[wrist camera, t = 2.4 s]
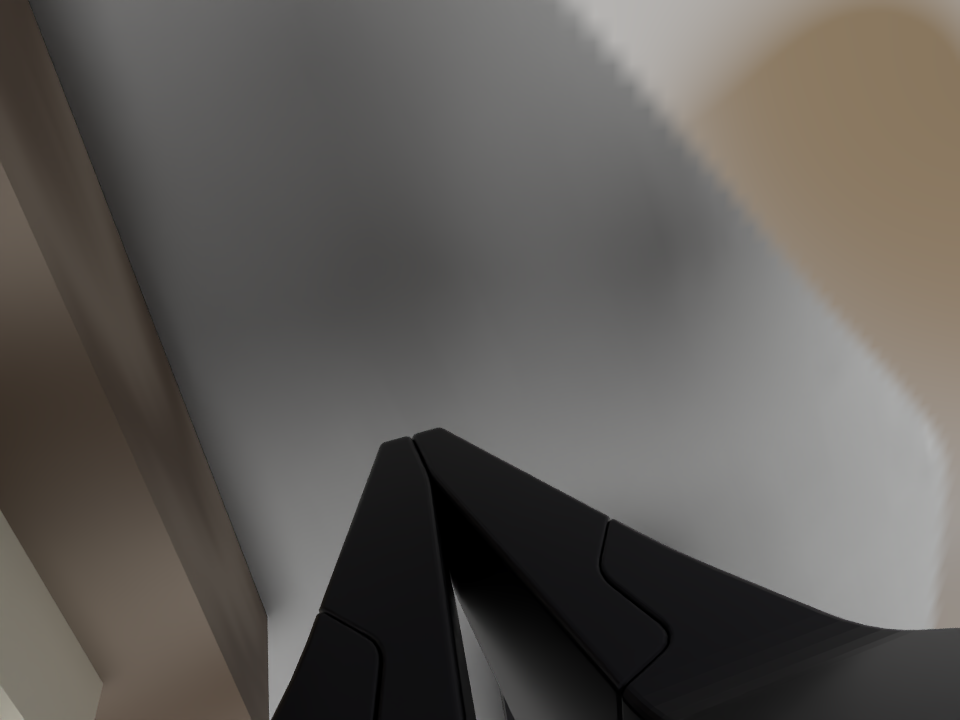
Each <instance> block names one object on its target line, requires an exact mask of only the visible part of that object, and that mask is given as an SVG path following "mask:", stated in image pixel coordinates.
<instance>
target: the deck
mask: <svg viewBox="0 0 960 720" xmlns="http://www.w3.org/2000/svg"><path fill="white" fill-rule="evenodd" d="M0 510H1V512H2V513H3V515H4V517H5V518H6V520H7V522H8V524H9V525H10V527H11V529H12V530H13V532H14V534H15V535H16V537H17V539H18V540H19V542H20V544H21V546H22V547H23V549H24V551H25V552H26V554H27V556H28V557H29V559H30V561H31V562H32V564H33V566H34V568H35V569H36V571H37V573H38V574H39V576H40V578H41V579H42V581H43V583H44V584H45V586H46V588H47V590H48V591H49V593H50V595H51V596H52V598H53V600H54V601H55V603H56V605H57V606H58V608H59V610H60V611H61V613H62V615H63V617H64V618H65V620H66V622H67V623H68V625H69V627H70V628H71V630H72V632H73V633H74V635H75V637H76V639H77V640H78V642H79V644H80V645H81V647H82V649H83V650H84V652H85V654H86V655H87V657H88V659H89V661H90V662H91V664H92V666H93V667H94V669H95V671H96V672H97V674H98V676H99V677H100V679H101V681H102V683H103V687H102V691H101V695H100V699H99V703H98V708H97V712H96V716H95V720H269V688H268V631H267V615H266V613H265V610H264V607H263V605H262V602H261V600H260V597H259V595H258V592H257V589H256V587H255V584H254V582H253V579H252V577H251V574H250V571H249V569H248V566H247V564H246V561H245V559H244V556H243V553H242V551H241V548H240V546H239V543H238V540H237V538H236V535H235V533H234V530H233V528H232V525H231V522H230V520H229V517H228V515H227V512H226V510H225V507H224V504H223V502H222V499H221V497H220V494H219V491H218V489H217V486H216V484H215V481H214V479H213V476H212V473H211V471H210V468H209V466H208V463H207V461H206V458H205V455H204V453H203V450H202V448H201V445H200V442H199V440H198V437H197V435H196V432H195V430H194V427H193V424H192V422H191V419H190V417H189V414H188V412H187V409H186V406H185V404H184V401H183V399H182V396H181V393H180V391H179V388H178V386H177V383H176V381H175V378H174V375H173V373H172V370H171V368H170V365H169V363H168V360H167V357H166V355H165V352H164V350H163V347H162V344H161V342H160V339H159V337H158V334H157V332H156V329H155V326H154V324H153V321H152V319H151V316H150V314H149V311H148V308H147V306H146V303H145V301H144V298H143V295H142V293H141V290H140V288H139V285H138V283H137V280H136V277H135V275H134V272H133V270H132V267H131V265H130V262H129V259H128V257H127V254H126V252H125V249H124V246H123V244H122V241H121V239H120V236H119V234H118V231H117V228H116V226H115V223H114V221H113V218H112V216H111V213H110V210H109V208H108V205H107V203H106V200H105V197H104V195H103V192H102V190H101V187H100V185H99V182H98V179H97V177H96V174H95V172H94V169H93V167H92V164H91V161H90V159H89V156H88V154H87V151H86V148H85V146H84V143H83V141H82V138H81V136H80V133H79V130H78V128H77V125H76V123H75V120H74V118H73V115H72V112H71V110H70V107H69V105H68V102H67V99H66V97H65V94H64V92H63V89H62V87H61V84H60V81H59V79H58V76H57V74H56V71H55V69H54V66H53V63H52V61H51V58H50V56H49V53H48V50H47V48H46V45H45V43H44V40H43V38H42V35H41V32H40V30H39V27H38V25H37V22H36V20H35V17H34V14H33V12H32V9H31V7H30V4H29V1H28V0H0Z"/></svg>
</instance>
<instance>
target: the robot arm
mask: <svg viewBox="0 0 960 720" xmlns="http://www.w3.org/2000/svg"><path fill="white" fill-rule="evenodd" d="M452 585H453V587H452ZM453 588H454V590H455V593H456V595H457V597H458V600H459V602H460V604H461V607H462V609H463V611H464V613H465V615H466V617H467V619H468V621H469V624H470V626H471V628H472V630H473V632H474V634H475V636H476V638H477V641H478V643H479V645H480V647H481V649H482V651H483V653H484V655H485V657H486V660H487V662H488V664H489V666H490V668H491V670H492V672H493V674H494V677H495V679H496V681H497V683H498V685H499V687H500V692H501V698H502V704H503V710H504V716H505V720H960V628H947V629H928V630H896V629H884V628H878V627H873V626H867V625H863V624H859V623H856V622H852V621H848V620H845V619H842V618H839V617H836V616H834V615H831V614H828V613H825V612H823V611H820V610H818V609H816V608H813V607H811V606H808V605H806V604H803V603H801V602H798V601H796V600H793V599H791V598H789V597H786V596H784V595H781V594H779V593H776V592H774V591H771V590H769V589H767V588H764V587H762V586H759V585H757V584H754V583H752V582H749V581H747V580H745V579H742V578H740V577H737V576H735V575H732V574H730V573H727V572H725V571H723V570H720V569H718V568H715V567H713V566H711V565H708V564H706V563H704V562H701V561H699V560H697V559H695V558H692V557H690V556H688V555H685V554H683V553H681V552H678V551H676V550H674V549H672V548H670V547H668V546H666V545H664V544H662V543H660V542H658V541H656V540H654V539H652V538H650V537H647V536H645V535H643V534H641V533H639V532H637V531H635V530H634V529H632V528H630V527H628V526H626V525H624V524H622V523H620V522H618V521H617V520H615V519H611V520H610V518H609V517H608V516H607V515H605V514H603V513H601V512H599V511H597V510H595V509H594V508H592V507H590V506H588V505H586V504H584V503H582V502H580V501H578V500H577V499H575V498H573V497H571V496H569V495H567V494H565V493H563V492H562V491H560V490H558V489H556V488H554V487H552V486H550V485H548V484H546V483H545V482H543V481H541V480H539V479H537V478H535V477H533V476H531V475H530V474H528V473H526V472H524V471H522V470H520V469H518V468H516V467H514V466H513V465H511V464H509V463H507V462H505V461H503V460H501V459H499V458H498V457H496V456H494V455H492V454H490V453H488V452H486V451H484V450H482V449H481V448H479V447H477V446H475V445H473V444H471V443H469V442H467V441H466V440H464V439H462V438H460V437H458V436H456V435H454V434H452V433H451V432H449V431H447V430H445V429H443V428H435V429H431V430H427V431H424V432H420V433H417V434H415V435H414V436H413V438H412V439H411V438H410V437H408V436H405V437H402V438H398V439H394V440H391V441H387V442H384V443H382V444H381V446H380V448H379V451H378V453H377V456H376V459H375V461H374V464H373V467H372V469H371V472H370V475H369V477H368V480H367V483H366V485H365V488H364V491H363V493H362V496H361V499H360V501H359V504H358V507H357V510H356V512H355V515H354V518H353V520H352V523H351V526H350V528H349V531H348V534H347V536H346V539H345V542H344V544H343V547H342V550H341V552H340V555H339V558H338V560H337V563H336V566H335V568H334V571H333V574H332V577H331V579H330V582H329V585H328V587H327V590H326V593H325V595H324V598H323V601H322V603H321V606H320V609H319V614H318V615H317V616H316V618H315V621H314V624H313V627H312V629H311V632H310V635H309V637H308V640H307V643H306V645H305V647H304V650H303V652H302V655H301V657H300V659H299V662H298V664H297V667H296V669H295V671H294V674H293V676H292V679H291V681H290V683H289V685H288V687H287V689H286V691H285V693H284V695H283V697H282V699H281V701H280V703H279V705H278V707H277V709H276V711H275V713H274V715H273V717H272V719H271V720H476V715H475V710H474V704H473V698H472V693H471V687H470V681H469V675H468V670H467V664H466V658H465V652H464V647H463V641H462V635H461V630H460V624H459V618H458V612H457V607H456V602H455V597H454V592H453Z"/></svg>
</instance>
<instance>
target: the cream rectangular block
mask: <svg viewBox="0 0 960 720" xmlns="http://www.w3.org/2000/svg"><path fill="white" fill-rule="evenodd" d="M102 687H103V683H102V681H101V679H100V677H99V676H98V674H97V672H96V671H95V669H94V667H93V666H92V664H91V662H90V661H89V659H88V657H87V655H86V654H85V652H84V650H83V649H82V647H81V645H80V644H79V642H78V640H77V639H76V637H75V635H74V633H73V632H72V630H71V628H70V627H69V625H68V623H67V622H66V620H65V618H64V617H63V615H62V613H61V611H60V610H59V608H58V606H57V605H56V603H55V601H54V600H53V598H52V596H51V595H50V593H49V591H48V590H47V588H46V586H45V584H44V583H43V581H42V579H41V578H40V576H39V574H38V573H37V571H36V569H35V568H34V566H33V564H32V562H31V561H30V559H29V557H28V556H27V554H26V552H25V551H24V549H23V547H22V546H21V544H20V542H19V540H18V539H17V537H16V535H15V534H14V532H13V530H12V529H11V527H10V525H9V524H8V522H7V520H6V518H5V517H4V515H3V513H2V512H1V510H0V720H95V716H96V712H97V708H98V703H99V699H100V695H101V691H102Z"/></svg>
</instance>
